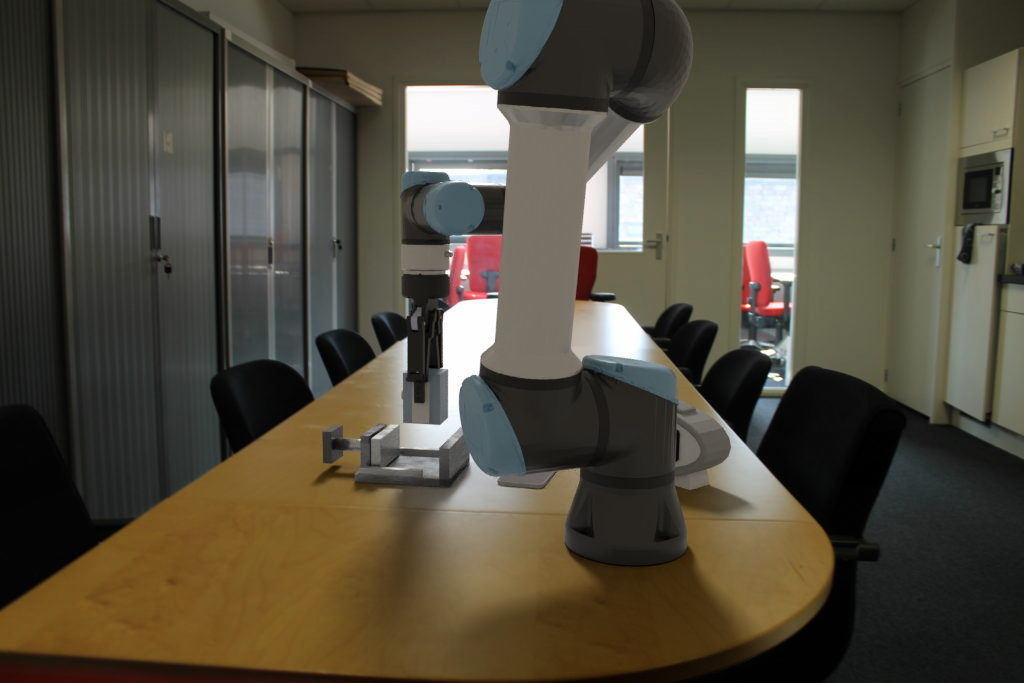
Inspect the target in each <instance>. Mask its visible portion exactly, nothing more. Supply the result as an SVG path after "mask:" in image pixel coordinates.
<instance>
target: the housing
mask: <svg viewBox="0 0 1024 683" xmlns="http://www.w3.org/2000/svg"><path fill="white" fill-rule="evenodd" d="M406 378H407V370H405V371H404V372H402V390H401V394H400V396H401V400H402V423H403V424H412V425H413V424H417V425H427V424H426V423H412V382H406ZM427 382H430V423H429V424H428V425H430V426H431V425H433V426H440V425H442V424H443V423H444V422H445V421H446V420H448V418H449V369H448V368H440V369H434V368H429V370H428V381H427Z"/></svg>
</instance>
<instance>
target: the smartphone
mask: <svg viewBox="0 0 1024 683" xmlns="http://www.w3.org/2000/svg"><path fill="white" fill-rule="evenodd" d="M555 473H557V471H553V472H545V473H537V474H529V475H525V476H523V477H517V476H502V477H498V478H497V484H498V485H500V486H505V487H519V488H528V489H542V488H545V486H546V485H547V484H548V483H549V481H550V480H551V479H552V477H553V476H554V475H555Z"/></svg>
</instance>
